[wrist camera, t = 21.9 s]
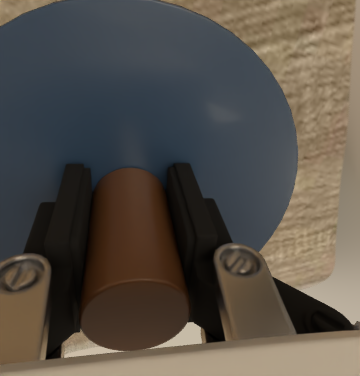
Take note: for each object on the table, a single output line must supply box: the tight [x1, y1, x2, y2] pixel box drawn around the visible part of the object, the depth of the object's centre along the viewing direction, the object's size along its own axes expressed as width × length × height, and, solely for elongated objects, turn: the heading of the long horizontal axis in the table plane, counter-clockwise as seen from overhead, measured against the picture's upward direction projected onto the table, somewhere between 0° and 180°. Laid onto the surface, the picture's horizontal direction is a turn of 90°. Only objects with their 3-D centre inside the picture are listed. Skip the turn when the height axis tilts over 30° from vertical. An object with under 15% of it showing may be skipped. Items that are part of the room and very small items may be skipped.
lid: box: [0, 0, 298, 351], centre depth 10 cm, size 13×13×6 cm
